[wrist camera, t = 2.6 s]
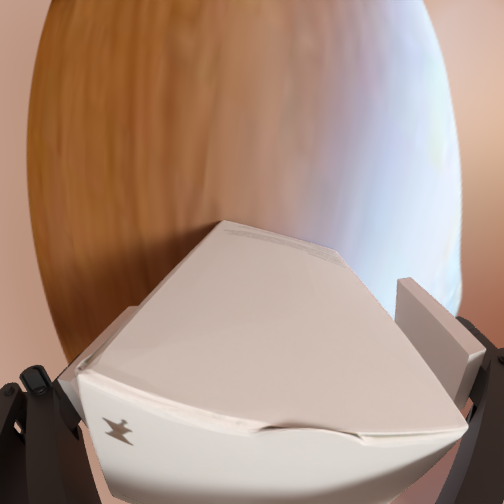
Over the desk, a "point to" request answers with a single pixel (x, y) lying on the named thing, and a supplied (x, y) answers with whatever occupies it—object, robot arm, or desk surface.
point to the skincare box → (263, 384)
